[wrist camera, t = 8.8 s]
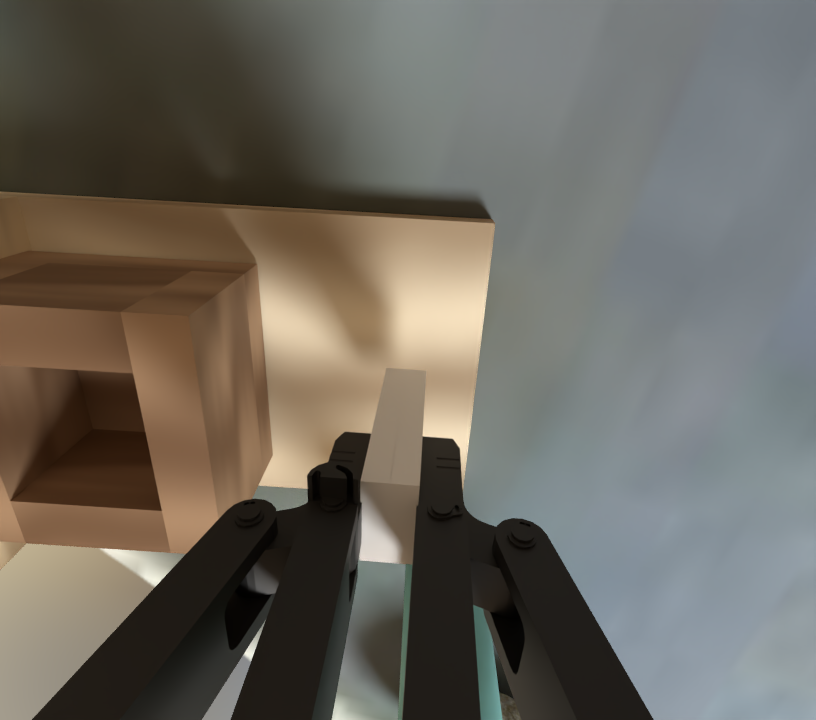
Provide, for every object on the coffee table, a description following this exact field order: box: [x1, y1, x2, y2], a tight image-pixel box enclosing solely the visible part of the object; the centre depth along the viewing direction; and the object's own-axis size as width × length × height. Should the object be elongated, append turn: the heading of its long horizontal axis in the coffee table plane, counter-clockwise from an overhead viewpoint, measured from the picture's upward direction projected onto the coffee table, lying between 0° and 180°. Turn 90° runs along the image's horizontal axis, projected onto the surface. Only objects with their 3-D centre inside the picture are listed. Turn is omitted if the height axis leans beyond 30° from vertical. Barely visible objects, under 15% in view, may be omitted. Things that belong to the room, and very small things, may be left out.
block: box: [0, 251, 273, 554], centre depth 18 cm, size 9×9×6 cm
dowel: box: [398, 564, 502, 720], centre depth 21 cm, size 4×4×12 cm
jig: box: [0, 192, 495, 570], centre depth 16 cm, size 13×20×12 cm, turn 87°
